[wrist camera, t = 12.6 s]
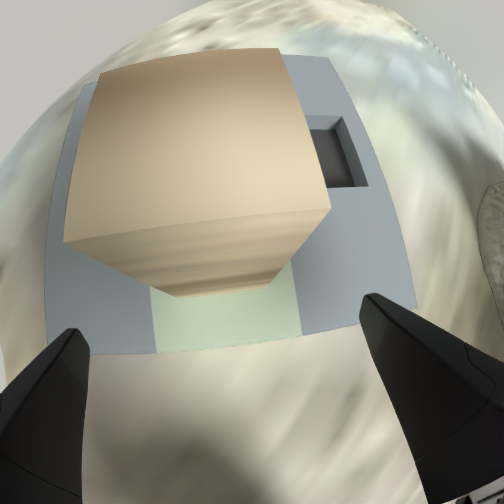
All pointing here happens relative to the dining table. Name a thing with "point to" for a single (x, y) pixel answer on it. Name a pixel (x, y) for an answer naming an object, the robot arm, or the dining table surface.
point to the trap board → (287, 280)
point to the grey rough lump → (493, 241)
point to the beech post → (196, 173)
